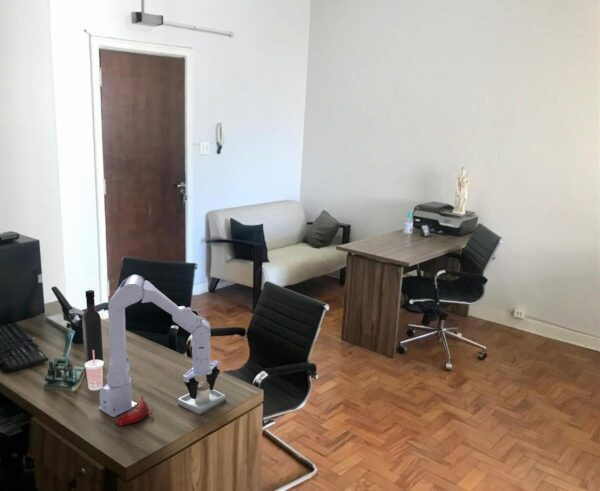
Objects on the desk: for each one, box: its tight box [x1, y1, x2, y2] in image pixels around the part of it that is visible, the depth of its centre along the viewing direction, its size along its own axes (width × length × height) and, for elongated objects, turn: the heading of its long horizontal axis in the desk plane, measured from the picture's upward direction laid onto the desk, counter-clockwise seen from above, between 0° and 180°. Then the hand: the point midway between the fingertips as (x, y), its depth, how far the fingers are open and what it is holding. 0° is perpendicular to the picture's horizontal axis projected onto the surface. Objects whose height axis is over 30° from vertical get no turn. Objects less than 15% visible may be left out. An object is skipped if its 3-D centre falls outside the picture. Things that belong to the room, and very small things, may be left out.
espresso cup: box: [194, 381, 210, 404], centre depth 182 cm, size 5×5×6 cm
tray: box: [177, 388, 226, 416], centre depth 182 cm, size 12×10×2 cm
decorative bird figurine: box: [115, 395, 154, 426], centre depth 174 cm, size 3×18×10 cm
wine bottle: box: [81, 289, 104, 368], centre depth 199 cm, size 6×6×30 cm
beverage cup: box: [84, 350, 105, 391], centre depth 188 cm, size 6×6×14 cm
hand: (201, 393), depth 182 cm, fingers open, 7 cm apart
